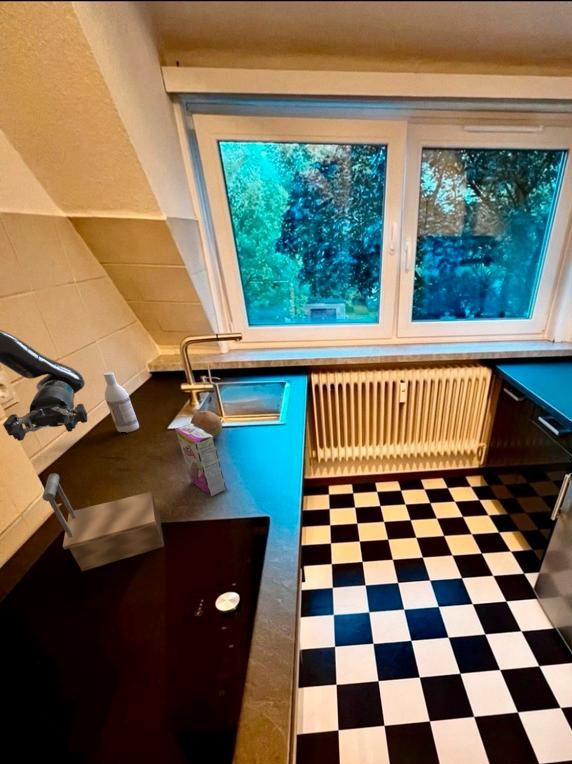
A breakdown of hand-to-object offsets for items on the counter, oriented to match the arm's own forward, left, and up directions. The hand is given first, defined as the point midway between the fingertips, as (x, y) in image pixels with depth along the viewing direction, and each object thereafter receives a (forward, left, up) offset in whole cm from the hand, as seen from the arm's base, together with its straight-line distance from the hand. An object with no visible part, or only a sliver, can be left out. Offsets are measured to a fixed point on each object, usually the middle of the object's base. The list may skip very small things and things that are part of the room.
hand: (43, 431), depth 79 cm
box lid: (+2, -13, -18) cm, 22 cm away
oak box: (+2, -13, -24) cm, 28 cm away
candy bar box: (+27, -9, -24) cm, 37 cm away
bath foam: (+31, +46, -24) cm, 61 cm away
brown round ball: (+44, +16, -24) cm, 53 cm away
